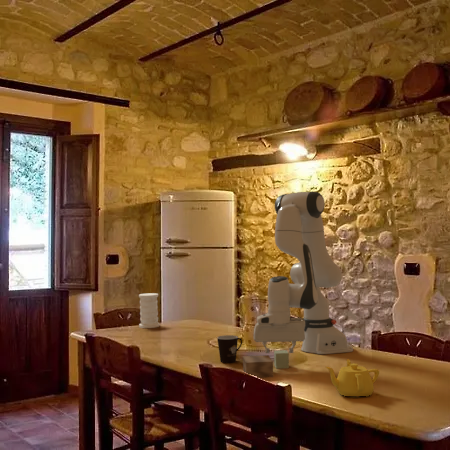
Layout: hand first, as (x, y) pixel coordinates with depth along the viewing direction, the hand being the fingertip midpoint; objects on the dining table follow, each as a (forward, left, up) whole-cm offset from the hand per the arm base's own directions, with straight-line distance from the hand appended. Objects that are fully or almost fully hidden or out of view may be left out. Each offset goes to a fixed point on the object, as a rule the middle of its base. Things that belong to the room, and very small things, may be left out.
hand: (279, 352), depth 236 cm
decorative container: (+59, -104, -6) cm, 119 cm away
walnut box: (+10, +9, -6) cm, 14 cm away
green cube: (-1, 0, -6) cm, 6 cm away
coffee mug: (+18, -13, -6) cm, 23 cm away
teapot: (-19, +39, -6) cm, 43 cm away
